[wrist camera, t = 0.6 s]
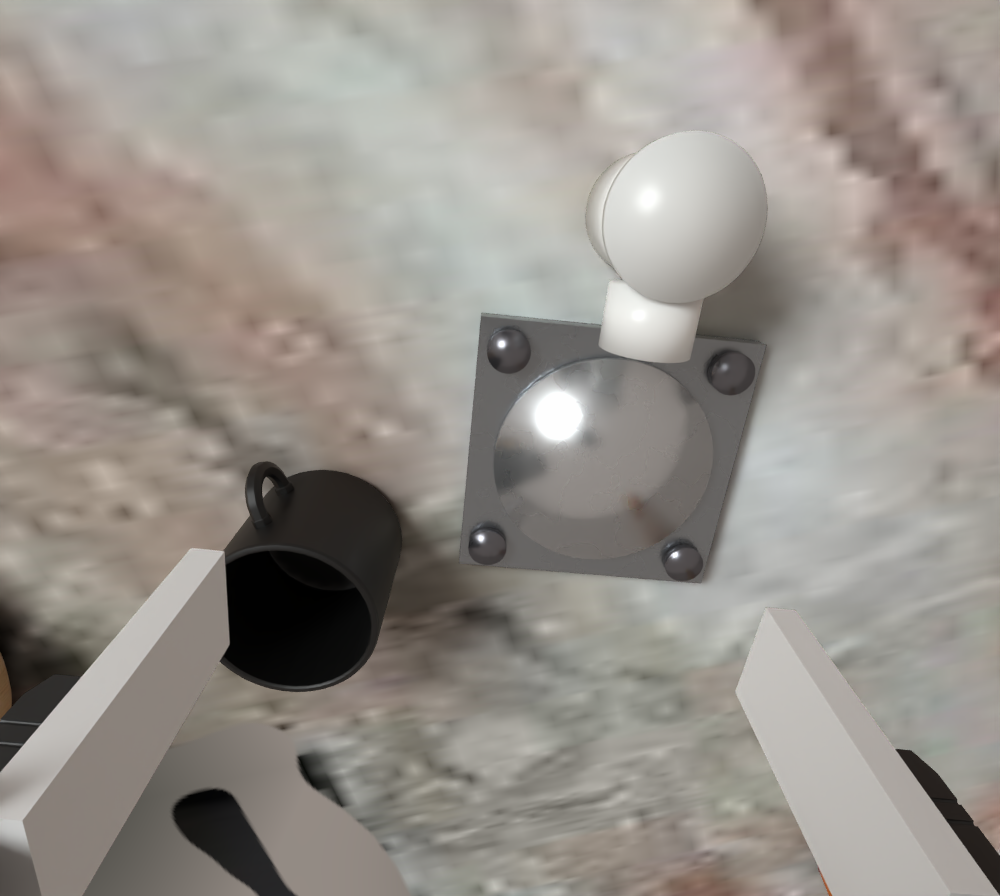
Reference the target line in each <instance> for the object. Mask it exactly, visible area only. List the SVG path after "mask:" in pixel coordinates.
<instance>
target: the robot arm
mask: <svg viewBox="0 0 1000 896" xmlns="http://www.w3.org/2000/svg"><path fill="white" fill-rule="evenodd" d="M229 645H230V641H229V623H228V605H227V587H226V570H225V552H224V551H216V550H206V549H196V548H191V549H190V550H189V551H188V552H187V553H186V555H185V556H184V557H183V558H182V559H181V561H180V562H179V563H178V564H177V565H176V566H175V568H174V569H173V570H172V571H171V572H170V573H169V575H168V576H167V577H166V578H165V579H164V581H163V582H162V583H161V584H160V585H159V586H158V588H157V589H156V590H155V591H154V592H153V593H152V595H151V596H150V597H149V598H148V599H147V600H146V602H145V603H144V604H143V605H142V606H141V608H140V609H139V610H138V611H137V612H136V613H135V615H134V616H133V617H132V618H131V619H130V620H129V622H128V623H127V624H126V625H125V626H124V628H123V629H122V630H121V631H120V632H119V633H118V635H117V636H116V637H115V638H114V639H113V640H112V642H111V643H110V644H109V645H108V646H107V648H106V649H105V650H104V651H103V652H102V653H101V655H100V656H99V657H98V658H97V659H96V660H95V662H94V663H93V664H92V665H91V666H90V668H89V669H88V670H87V671H86V672H85V673H84V675H83V676H82V677H79V676H68V675H57V674H54V675H53V676H51V677H50V678H48V679H46V680H45V681H43V682H42V683H40V684H39V685H37V686H36V687H34V688H32V689H31V690H29V691H28V692H26V693H25V694H23V695H22V696H21V697H20V698H19V700H18V701H17V702H16V703H15V704H14V705H13V706H12V707H11V708H10V709H9V710H8V711H7V712H6V713H5V715H4V716H3V717H2V718H1V720H0V896H82V895H83V894H84V892H85V890H86V889H87V887H88V885H89V884H90V882H91V880H92V878H93V877H94V875H95V873H96V872H97V870H98V868H99V866H100V865H101V863H102V861H103V860H104V858H105V856H106V855H107V852H108V851H109V849H110V848H111V846H112V844H113V842H114V841H115V839H116V837H117V836H118V834H119V832H120V830H121V829H122V827H123V825H124V824H125V822H126V820H127V819H128V817H129V815H130V813H131V812H132V810H133V808H134V807H135V805H136V803H137V801H138V800H139V798H140V796H141V794H142V793H143V791H144V790H145V788H146V786H147V785H148V783H149V781H150V779H151V778H152V776H153V774H154V772H155V771H156V769H157V767H158V766H159V764H160V762H161V761H162V759H163V757H164V756H165V754H166V752H167V750H168V749H169V747H170V745H171V744H172V742H173V740H174V738H175V737H176V735H177V733H178V732H179V730H180V728H181V726H182V725H183V723H184V721H185V720H186V718H187V716H188V715H189V713H190V711H191V709H192V708H193V706H194V704H195V703H196V701H197V699H198V697H199V696H200V694H201V692H202V691H203V689H204V687H205V686H206V684H207V682H208V680H209V679H210V677H211V675H212V674H213V672H214V670H215V668H216V667H217V665H218V663H219V662H220V660H221V658H222V656H223V655H224V653H225V651H226V650H227V648H228V646H229ZM735 693H736V695H737V697H738V699H739V701H740V703H741V705H742V708H743V710H744V712H745V714H746V716H747V718H748V720H749V722H750V724H751V726H752V729H753V731H754V733H755V735H756V737H757V739H758V741H759V743H760V745H761V747H762V750H763V752H764V754H765V756H766V758H767V760H768V762H769V764H770V766H771V768H772V771H773V773H774V775H775V777H776V779H777V781H778V783H779V785H780V787H781V789H782V791H783V794H784V796H785V798H786V800H787V802H788V804H789V806H790V808H791V810H792V812H793V815H794V817H795V819H796V821H797V823H798V825H799V827H800V829H801V831H802V833H803V836H804V838H805V840H806V842H807V844H808V846H809V848H810V850H811V852H812V854H813V857H814V859H815V861H816V863H817V865H818V867H819V869H820V871H821V873H822V875H823V878H824V880H825V882H826V884H827V886H828V888H829V890H830V892H831V894H832V896H1000V855H999V854H998V853H997V851H996V850H995V849H994V848H993V846H992V845H991V844H990V842H989V841H988V840H987V838H986V837H985V836H984V834H983V833H982V832H981V830H980V829H979V828H978V827H976V826H974V824H973V820H972V818H971V817H970V816H969V814H968V813H967V812H966V811H965V809H964V808H963V807H962V805H958V803H957V799H956V797H955V796H954V795H953V793H952V792H951V791H950V789H949V788H948V787H947V785H946V784H945V783H944V781H943V780H942V779H941V777H940V776H939V775H938V774H937V773H936V772H935V771H934V770H933V769H932V768H931V767H929V766H928V765H927V764H926V763H925V762H924V761H923V760H921V759H920V758H919V757H918V756H917V755H916V754H914V753H913V752H912V751H911V750H901V749H895V748H894V747H893V746H892V744H891V743H890V741H889V740H888V739H887V737H886V736H885V734H884V733H883V732H882V730H881V729H880V727H879V726H878V725H877V723H876V722H875V720H874V719H873V718H872V716H871V715H870V713H869V712H868V711H867V709H866V708H865V706H864V705H863V704H862V702H861V701H860V699H859V698H858V697H857V695H856V694H855V692H854V691H853V690H852V688H851V687H850V685H849V684H848V683H847V681H846V680H845V678H844V677H843V676H842V674H841V673H840V671H839V670H838V668H837V667H836V666H835V664H834V663H833V661H832V660H831V659H830V657H829V656H828V654H827V653H826V652H825V650H824V649H823V647H822V646H821V645H820V643H819V642H818V640H817V639H816V638H815V636H814V635H813V633H812V632H811V631H810V629H809V628H808V626H807V625H806V624H805V622H804V621H803V619H802V618H801V617H800V615H799V614H798V612H797V611H796V610H789V609H779V608H769V607H766V608H765V611H764V614H763V617H762V619H761V622H760V625H759V628H758V630H757V633H756V636H755V639H754V641H753V644H752V647H751V650H750V652H749V655H748V658H747V661H746V663H745V666H744V669H743V672H742V674H741V677H740V680H739V683H738V686H737V688H736V691H735Z"/></svg>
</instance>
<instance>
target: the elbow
mask: <svg viewBox="0 0 1000 896" xmlns="http://www.w3.org/2000/svg"><path fill="white" fill-rule="evenodd" d="M767 209H768V206H767V194H766V188H765V184H764V181H763V178H762V175H761V173H760V171H759V169H758V167H757V165H756V163H755V162H754V161H753V159H752V158H751V156H750V155H749V154H748V153H747V152H746V151H745V150H744V149H743V148H742V147H741V146H739V145H738V144H737V143H735V142H734V141H732V140H730V139H729V138H727V137H725V136H722V135H719V134H716V133H712V132H707V131H684V132H679V133H675V134H671V135H668V136H665V137H663V138H660V139H658V140H655V141H653V142H652V143H650V144H648V145H646V146H645V147H643V148H642V149H641V150H639V151H638V152H637V153H634V154H630V155H628V156H625V157H623V158H621V159H619V160H617V161H616V162H614V163H613V164H612V165H610V166H609V167H608V168H607V169H606V170H605V171H604V172H603V173H602V174H601V176H600V177H599V178H598V179H597V181H596V183H595V184H594V186H593V188H592V190H591V192H590V195H589V198H588V202H587V206H586V215H585V219H586V229H587V234H588V237H589V240H590V242H591V244H592V246H593V248H594V250H595V251H596V253H597V254H598V255H599V256H600V257H601V258H602V259H603V260H604V261H605V262H606V263H608V264H609V265H611V266H612V267H613V268H614V269H615V271H616V272H617V274H618V275H619V276H620V277H621V278H622V279H616V280H610V281H609V284H608V290H607V296H606V302H605V308H604V314H603V320H602V326H601V332H600V338H599V344H598V345H599V347H600V348H602V349H603V350H605V351H607V352H610V353H613V354H616V355H619V356H623V357H627V358H631V359H636V360H642V361H649V362H659V363H681V362H686V361H688V360H690V357H691V353H692V349H693V344H694V340H695V335H696V331H697V327H698V322H699V318H700V313H701V309H702V305H703V300H704V298H706V297H709V296H711V295H713V294H715V293H717V292H719V291H720V290H722V289H723V288H725V287H726V286H728V285H729V284H730V283H731V282H732V281H734V280H735V279H736V278H737V277H738V276H739V275H740V274H741V273H742V272H743V271H744V269H745V268H746V267H747V265H748V264H749V263H750V261H751V260H752V258H753V256H754V255H755V253H756V251H757V249H758V247H759V245H760V242H761V240H762V237H763V234H764V230H765V225H766V220H767Z"/></svg>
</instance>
